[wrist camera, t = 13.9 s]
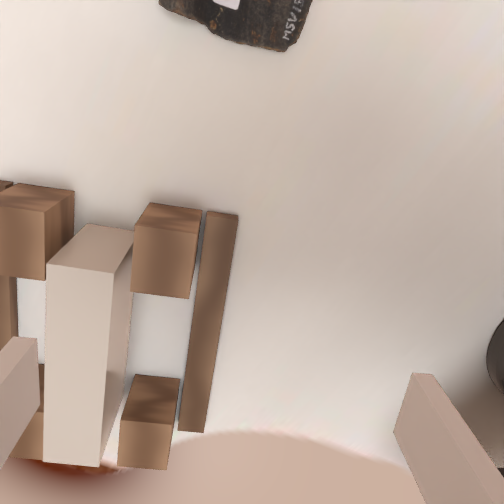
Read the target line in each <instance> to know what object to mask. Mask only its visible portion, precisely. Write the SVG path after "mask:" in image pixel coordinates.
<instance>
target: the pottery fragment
mask: <svg viewBox="0 0 504 504" xmlns="http://www.w3.org/2000/svg"><path fill="white" fill-rule="evenodd" d="M311 3H312V0H159V5H161V6H163V7H164V8H165V9H167V10H169V11H172V12H175V13H178V14H179V15H182V16H184V17H187V18H189V19H194V20H197V21H198V22H199V23H201V24H205V25H206V26H207V27H208V29H209V30H210V31H211V32H212V33H213V34H217V35H219V36H221V37H223V38H225V39H227V40H231V41H234V42H236V43H239V44H248V45H251V46H258V47H263V48H265V49H269V50H271V49H273V50H276V51H278V52H281V51H282V52H285V51H286V50H287V49H288V47H289V46H290V45H292V44H294V43H296V42H297V39H298V38H299V36H300V33H301V31H302V29H303V26H304V24H305V20H306V17H307V14H308V12H309V7H310V5H311Z"/></svg>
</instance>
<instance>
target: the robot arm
mask: <svg viewBox="0 0 504 504" xmlns="http://www.w3.org/2000/svg"><path fill="white" fill-rule="evenodd" d="M487 368H488V372H489V375H490V377H491V379H492V381H493V383H494V384H495V385H496V386H497V388H498V389H499V390H500V391H501V392H502V393H503V394H504V321H503V322H502V324H501V325H500V326H499V328H498V329H497V331H496V332H495V334H494V336H493V338H492V340H491V343H490V345H489V349H488V354H487ZM39 406H40V389H39V369H38V349H37V338H26V337H15V336H13V337H12V338H11V339H10V341H9V342H8V343H7V344H6V345H5V346H4V347H3V349H2V350H1V351H0V469H1V468H2V466H3V465H4V463H5V461H6V459H7V458H8V456H9V455H10V453H11V451H12V450H13V448H14V447H15V445H16V443H17V442H18V440H19V438H20V437H21V435H22V433H23V432H24V430H25V429H26V427H27V425H28V424H29V422H30V420H31V419H32V417H33V415H34V414H35V412H36V411H37V409H38V407H39ZM393 433H394V435H395V437H396V439H397V442H398V444H399V446H400V448H401V450H402V452H403V455H404V457H405V459H406V461H407V463H408V465H409V468H410V470H411V472H412V474H413V476H414V478H415V481H416V483H417V485H418V487H419V489H420V492H421V494H422V496H423V498H424V500H425V502H426V504H504V468H497V467H496V466H495V465H494V463H493V462H492V460H491V459H490V457H489V456H488V454H487V453H486V451H485V450H484V449H483V447H482V446H481V444H480V443H479V441H478V440H477V438H476V437H475V436H474V434H473V433H472V431H471V430H470V428H469V427H468V425H467V424H466V422H465V421H464V420H463V418H462V417H461V415H460V414H459V412H458V411H457V409H456V408H455V407H454V405H453V404H452V402H451V401H450V399H449V398H448V396H447V395H446V393H445V392H444V391H443V389H442V388H441V386H440V385H439V383H438V382H437V380H436V379H435V378H434V376H433V375H432V374H421V373H412V375H411V378H410V381H409V384H408V387H407V390H406V393H405V397H404V400H403V403H402V406H401V409H400V412H399V415H398V418H397V422H396V425H395V428H394V431H393Z"/></svg>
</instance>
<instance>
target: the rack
mask: <svg viewBox="0 0 504 504" xmlns="http://www.w3.org/2000/svg"><path fill="white" fill-rule="evenodd" d="M201 216H202V210H197V209H190V208H183V207H176V206H170V205H163V204H156V203H149V205H148V206H147V208H146V209H145V211H144V212H143V214H142V215H141V217H140V218H139V220H138V221H137V223H136V224H135V228H134V242H133V256H132V269H131V283H130V292H137V293H144V294H152V295H160V296H168V297H176V298H184V299H189V294H190V289H191V284H192V279H193V274H194V269H195V262H196V254H197V247H198V239H199V231H200V224H201ZM237 225H238V216H237V215H230V214H223V213H217V212H210V211H207V216H206V224H205V231H204V238H203V246H202V253H201V261H200V268H199V275H198V283H197V290H196V297H195V305H194V312H193V320H192V327H191V334H190V342H189V349H188V357H187V364H186V371H185V379H184V386H183V393H182V401H181V408H180V416H179V423H178V431H188V432H199V433H204V427H205V421H206V415H207V408H208V402H209V396H210V390H211V384H212V378H213V372H214V366H215V360H216V354H217V347H218V341H219V335H220V329H221V323H222V317H223V311H224V305H225V299H226V292H227V286H228V280H229V274H230V268H231V262H232V256H233V250H234V244H235V238H236V231H237ZM73 237H74V191H69V190H62V189H55V188H48V187H42V186H35V185H28V184H22V183H18V184H16V185H14V186H13V182H8V181H1V180H0V351H1V350H2V349H3V347H4V346H5V345H6V344H7V343H8V342H9V341H10V339H11V338H12V337H13V336H15V337H18V316H17V285H16V277H18V278H26V279H34V280H42V281H45V280H46V263H47V262H48V261H49V260H50V259H51V258H52V257H54V256H55V255H56V254H57V253H58V252H59V251H60V250H61V249H62V248H63V247H64V246H65V245H66V244H67V243H68V242H69V241H70V240H71V239H72V238H73ZM38 369H39V389H40V406H39V407H38V409H37V411H36V412H35V414H34V415H33V417H32V419H31V420H30V422H29V424H28V425H27V427H26V429H25V430H24V432H23V433H22V435H21V437H20V438H19V440H18V442H17V443H16V445H15V447H14V448H13V450H12V451H11V453H10V455H9V456H8V457H14V458H27V459H38V460H43V430H44V372H45V365H43V364H38ZM179 384H180V379H174V378H165V377H156V376H146V375H137V374H135V377H134V380H133V383H132V386H131V389H130V392H129V395H128V398H127V401H126V404H125V408H124V411H123V414H122V417H121V420H120V432H119V446H118V460H117V466H121V467H133V468H145V469H158V470H167V464H168V457H169V452H170V446H171V440H172V434H173V428H174V422H175V414H176V407H177V399H178V391H179Z"/></svg>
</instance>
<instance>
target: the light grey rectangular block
mask: <svg viewBox="0 0 504 504" xmlns="http://www.w3.org/2000/svg"><path fill="white" fill-rule="evenodd" d="M133 242H134V231H132V230H125V229H119V228H113V227H107V226H100V225H94V224H88V223H87V224H86V225H85V226H84V227H83V228H82V229H81V230H80V231H79V232H78V233H77V234H76V235H75V236H74V237H73V238H72V239H71V240H70V241H69V242H68V243H67V244H66V245H65V246H64V247H63V248H62V249H61V250H60V251H59V252H58V253H57V254H56V255H55V256H54V257H52V258H51V259H50V260H49V261H48V262H47V263H46V314H45V372H44V430H43V462H52V463H62V464H73V465H83V466H93V467H99V465H100V462H101V459H102V456H103V453H104V450H105V447H106V444H107V441H108V438H109V436H110V433H111V430H112V427H113V424H114V421H115V418H116V415H117V412H118V409H119V406H120V403H121V401H122V398H123V394H124V384H125V373H126V363H127V353H128V343H129V333H130V323H131V313H132V303H133V293H134V292H130V283H131V269H132V256H133Z"/></svg>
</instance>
